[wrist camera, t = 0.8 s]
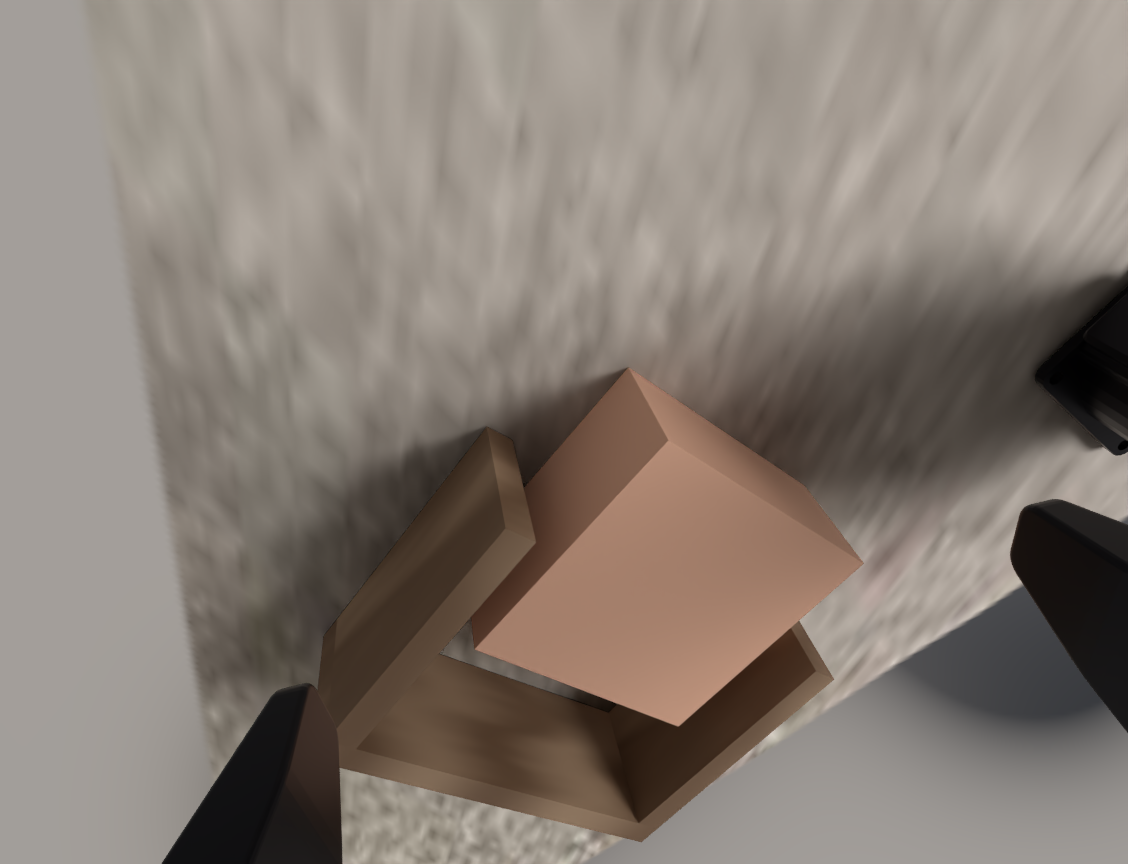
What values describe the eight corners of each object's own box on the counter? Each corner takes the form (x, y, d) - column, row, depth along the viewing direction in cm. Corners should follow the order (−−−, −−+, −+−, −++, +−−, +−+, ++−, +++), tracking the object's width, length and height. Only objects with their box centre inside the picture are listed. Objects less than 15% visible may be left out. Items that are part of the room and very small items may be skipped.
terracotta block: (801, 481, 28) (863, 563, 24) (644, 632, 30) (678, 726, 27) (626, 363, 23) (668, 440, 20) (463, 551, 26) (474, 649, 23)
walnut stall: (773, 578, 30) (834, 679, 26) (611, 731, 33) (641, 842, 29) (486, 426, 23) (505, 528, 19) (323, 636, 27) (309, 760, 23)
